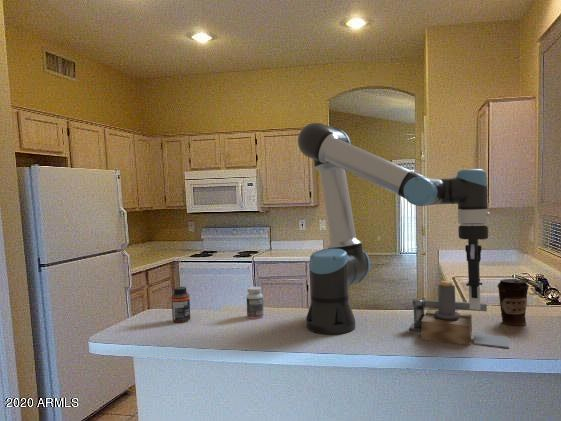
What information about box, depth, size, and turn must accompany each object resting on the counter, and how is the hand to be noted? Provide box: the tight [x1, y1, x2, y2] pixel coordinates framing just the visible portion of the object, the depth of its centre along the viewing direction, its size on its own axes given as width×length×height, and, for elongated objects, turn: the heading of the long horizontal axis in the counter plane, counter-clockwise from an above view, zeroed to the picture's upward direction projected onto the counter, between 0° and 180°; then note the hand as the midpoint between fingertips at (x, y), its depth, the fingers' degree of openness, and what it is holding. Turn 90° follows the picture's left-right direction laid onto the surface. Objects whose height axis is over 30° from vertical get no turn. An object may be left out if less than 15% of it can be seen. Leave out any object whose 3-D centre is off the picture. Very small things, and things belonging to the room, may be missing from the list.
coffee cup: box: [496, 278, 530, 326], centre depth 122 cm, size 9×8×13 cm
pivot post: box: [408, 307, 425, 332], centre depth 119 cm, size 5×5×6 cm
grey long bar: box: [411, 298, 488, 312], centre depth 116 cm, size 20×4×2 cm, turn 68°
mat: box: [473, 333, 510, 349], centre depth 107 cm, size 8×8×1 cm
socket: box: [420, 309, 473, 346], centre depth 113 cm, size 12×12×5 cm
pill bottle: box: [246, 286, 265, 320], centre depth 138 cm, size 6×6×10 cm
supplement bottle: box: [171, 286, 191, 323], centre depth 135 cm, size 6×6×11 cm
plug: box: [434, 280, 460, 321], centre depth 113 cm, size 6×6×15 cm
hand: (474, 308), depth 112 cm, fingers closed
